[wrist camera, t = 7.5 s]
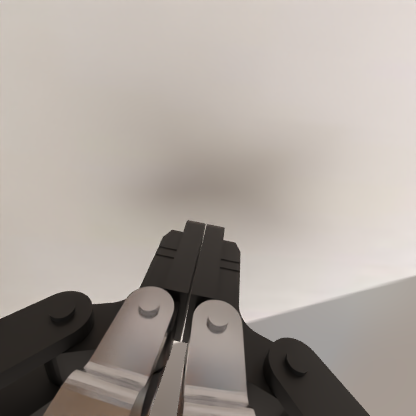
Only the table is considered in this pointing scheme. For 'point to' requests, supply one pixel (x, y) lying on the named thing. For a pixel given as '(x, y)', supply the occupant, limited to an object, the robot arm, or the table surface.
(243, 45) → the table surface
